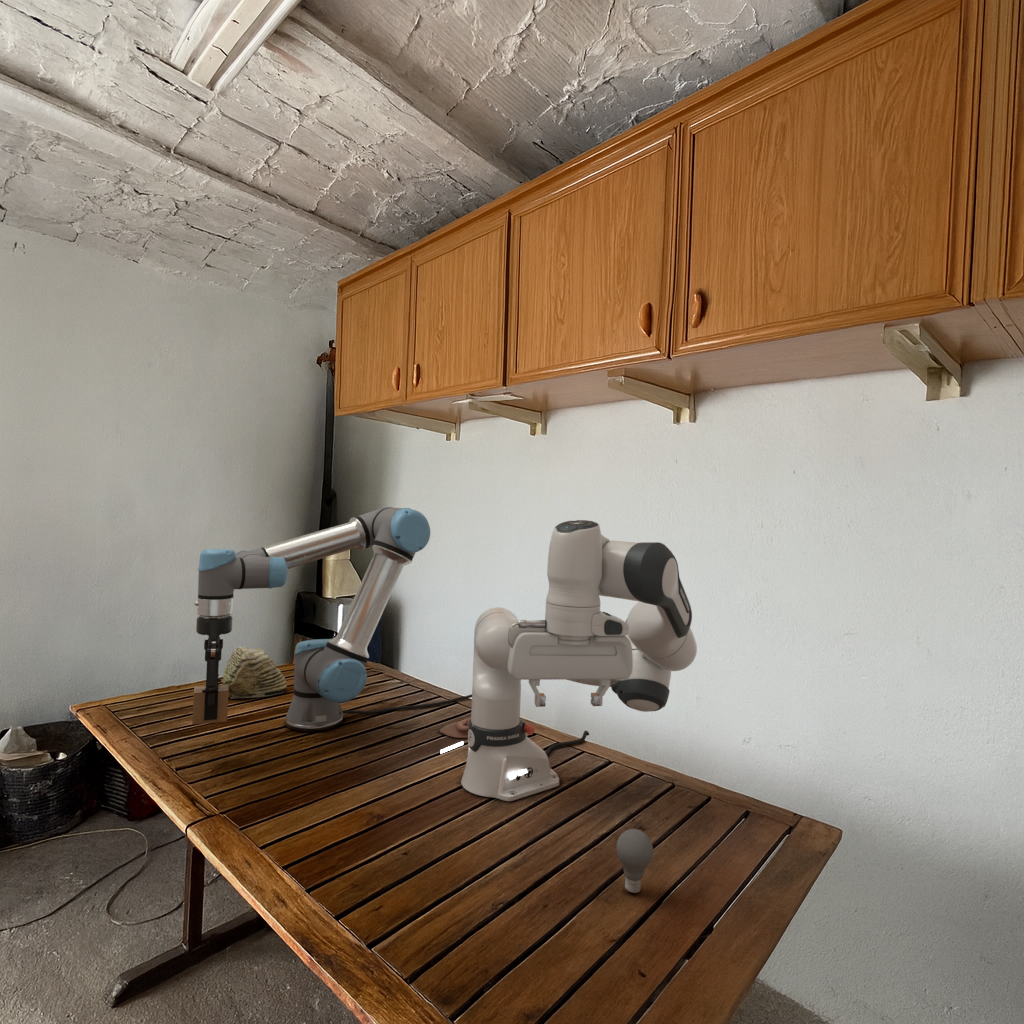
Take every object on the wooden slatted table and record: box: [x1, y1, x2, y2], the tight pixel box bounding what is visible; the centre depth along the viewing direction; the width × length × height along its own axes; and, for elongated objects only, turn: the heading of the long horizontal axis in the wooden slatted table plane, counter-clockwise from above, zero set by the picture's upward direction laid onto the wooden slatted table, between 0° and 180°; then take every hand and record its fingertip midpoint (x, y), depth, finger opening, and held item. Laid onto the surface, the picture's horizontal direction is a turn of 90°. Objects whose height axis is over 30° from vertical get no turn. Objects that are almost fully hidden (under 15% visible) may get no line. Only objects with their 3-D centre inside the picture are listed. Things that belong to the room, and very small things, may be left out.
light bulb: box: [615, 828, 654, 894], centre depth 106 cm, size 6×6×10 cm
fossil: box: [222, 646, 288, 699], centre depth 198 cm, size 9×18×15 cm, turn 132°
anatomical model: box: [439, 716, 471, 739], centre depth 175 cm, size 13×4×12 cm
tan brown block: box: [191, 684, 229, 725], centre depth 147 cm, size 5×7×7 cm
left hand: (210, 715), depth 147 cm, fingers closed on tan brown block, 5 cm apart
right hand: (568, 705), depth 103 cm, fingers open, 8 cm apart
